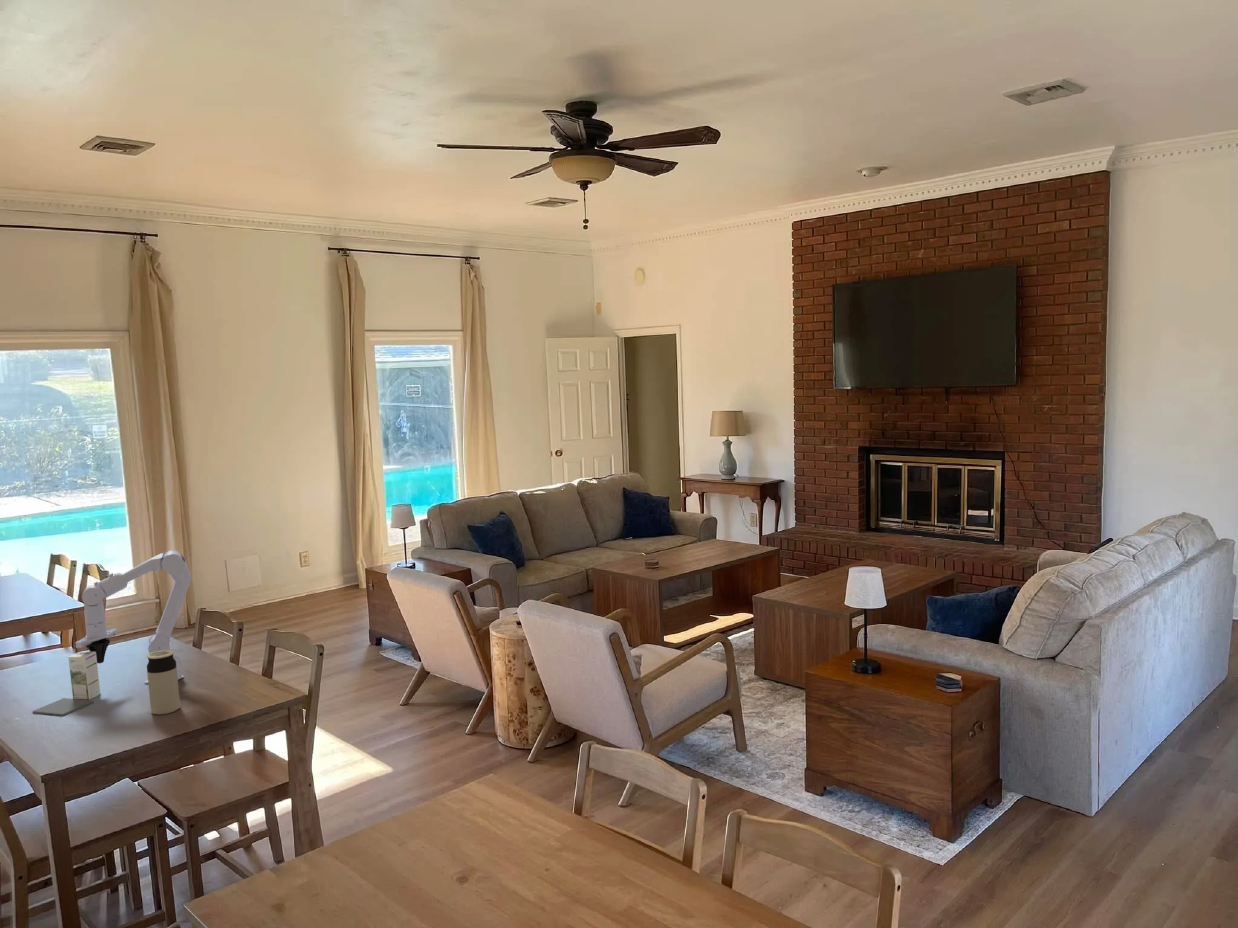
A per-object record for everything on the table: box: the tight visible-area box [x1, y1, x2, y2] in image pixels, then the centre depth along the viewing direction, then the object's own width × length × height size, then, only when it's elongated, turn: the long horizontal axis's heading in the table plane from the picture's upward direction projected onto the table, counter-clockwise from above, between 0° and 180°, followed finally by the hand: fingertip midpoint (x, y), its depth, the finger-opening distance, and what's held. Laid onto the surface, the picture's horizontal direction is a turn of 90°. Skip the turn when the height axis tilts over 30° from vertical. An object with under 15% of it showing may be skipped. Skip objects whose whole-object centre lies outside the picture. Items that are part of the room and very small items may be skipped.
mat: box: [32, 697, 95, 717], centre depth 276 cm, size 12×11×1 cm
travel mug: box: [146, 649, 181, 716], centre depth 270 cm, size 8×8×18 cm
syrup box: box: [68, 651, 101, 701], centre depth 284 cm, size 6×6×14 cm
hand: (99, 662), depth 290 cm, fingers closed
